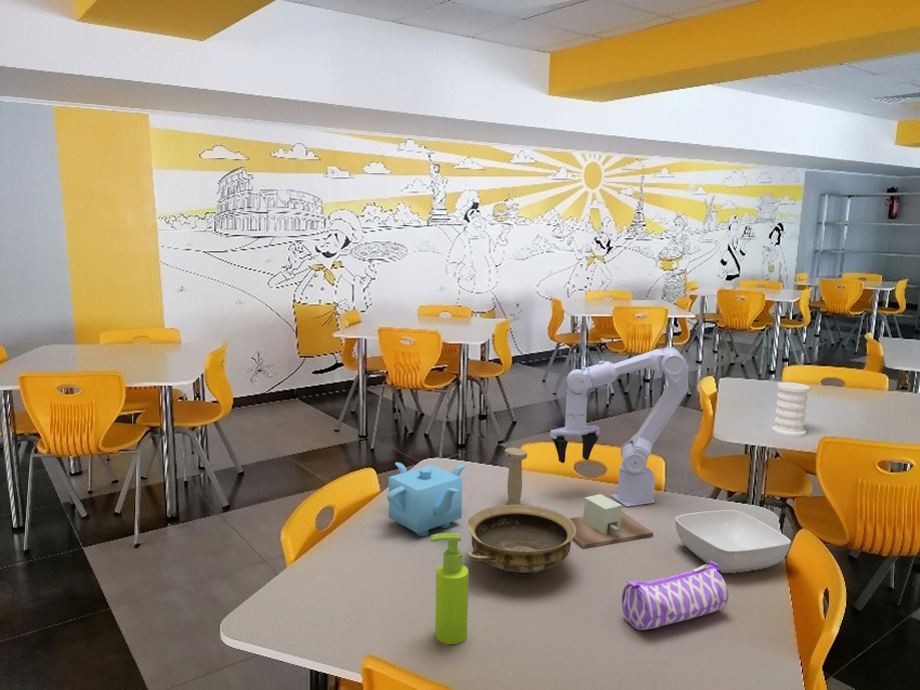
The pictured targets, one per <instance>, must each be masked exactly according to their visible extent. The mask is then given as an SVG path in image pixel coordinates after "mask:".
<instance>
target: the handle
mask: <svg viewBox="0 0 920 690" xmlns="http://www.w3.org/2000/svg"><path fill="white" fill-rule="evenodd" d="M504 455H505V456H506V458H508V459H509V461H508V463H509V464H508V473H507V487H506V488H507V490H506V491H507V502H508V505H521V498H522V490H523V475H522V474H523V469H522V467H523V466H522V465H523V460H525V459H527V457H528V452H527V451H526V450H524V449H521V448H517V447H508V448H505V449H504Z"/></svg>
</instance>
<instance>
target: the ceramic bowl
mask: <svg viewBox="0 0 920 690" xmlns="http://www.w3.org/2000/svg"><path fill="white" fill-rule="evenodd" d="M466 529H467V531H468V533H469V535H471V546H472V550H471V549H470V550H469V551H468V552H467V557H468V558H469V559H470V560H473V561H480V562H481V561H483V562H484V563H486V564H488V565H490V566H491V567H494V568H496V569H500V570H503V571H505V572H507V573H508V574H511V575H515V576H518V577H519V576H523V577H524V576H532V575H534V574H536V573H538V572H541V571H546V570H548V569H551V568H553V567H555V566H558V565H559V564H560V563H562V562H563V561H564V560H565V559H566V558H567V556H568V555H569V554H570V550H571V546H572V545H571V544H572V541H573V540H572V539H573V538H574V536H575V534H576V527H575V525H574V523H573V522H572V521H571V520H570V519H569V517H568V516H566V515H564V514H562V513H561V512H558V511H555V510H553V509H549V508H546V507H541V506H537V505H536V506H534V505H528V504H527V505H526V504H519V505H510V504H503V505H495V506H490V507H487V508H483V509H481V510H479V511H477V512H475V513H473V514H472V515H471V516H470V517H469V518H468V520H467V522H466ZM475 554H476V555H475Z"/></svg>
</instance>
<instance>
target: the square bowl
mask: <svg viewBox="0 0 920 690" xmlns="http://www.w3.org/2000/svg"><path fill="white" fill-rule="evenodd" d="M675 529H676V533H677V536H678V537H679V539H680V541H681V542H682V543H683V545H684V546H685V547H686V548H688V549H689V551H691V552H692V553H693V554H694V555H696V557H698V558H699V559H700V560H702V561H703V562H704V563H706V564H709V562H710V561H712V562H714V563H716V564H718V567H719V568H718V571H717V572H719V571H720V572H721V573H720V572H719V573H720V574H723V573H732V574H735V573H734V572H740V573H743V572H742V571H747V572H749V571H748V570H754V571H756V570H755V569H760V570H762V569H761V568H765V569H767V568H766V567H768V568H770V567H772V566H775V565H778V564H779V563H780V562H782V560H784V559H785V557H786V556H787V554H788V552H789V550H790V548H791V544H792V540H791V539H790V538H788V537H787V536H786V535H784V534H783V533H781V532H780V531H778V530H776V529H775V528H773V527H771V526H770V525H768V524H767V523H764V522H763V521H761V520H759V519H757V518H755V517H753V516H752V515H749V514H748V513H745V512H741V511H738V510H734V509H733V510H732V509H722V510H720V509H719V510H718V509H717V510H708V511H707V510H706V511H700V512H691V513H685V514H680V515H677V516H676V517H675Z"/></svg>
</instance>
